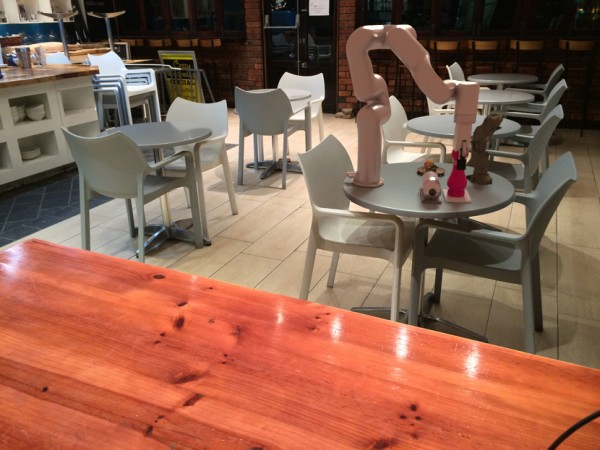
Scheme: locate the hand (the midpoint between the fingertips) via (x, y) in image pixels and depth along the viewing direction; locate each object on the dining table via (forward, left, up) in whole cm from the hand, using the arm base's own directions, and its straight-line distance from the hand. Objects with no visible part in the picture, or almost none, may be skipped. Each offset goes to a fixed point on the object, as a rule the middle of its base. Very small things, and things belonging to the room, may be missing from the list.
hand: (459, 166), depth 180 cm
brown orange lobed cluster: (-7, +30, -12) cm, 33 cm away
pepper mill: (0, 0, -11) cm, 11 cm away
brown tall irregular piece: (+12, +21, -12) cm, 27 cm away
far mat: (0, 0, -12) cm, 12 cm away
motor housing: (-9, 0, -12) cm, 15 cm away
